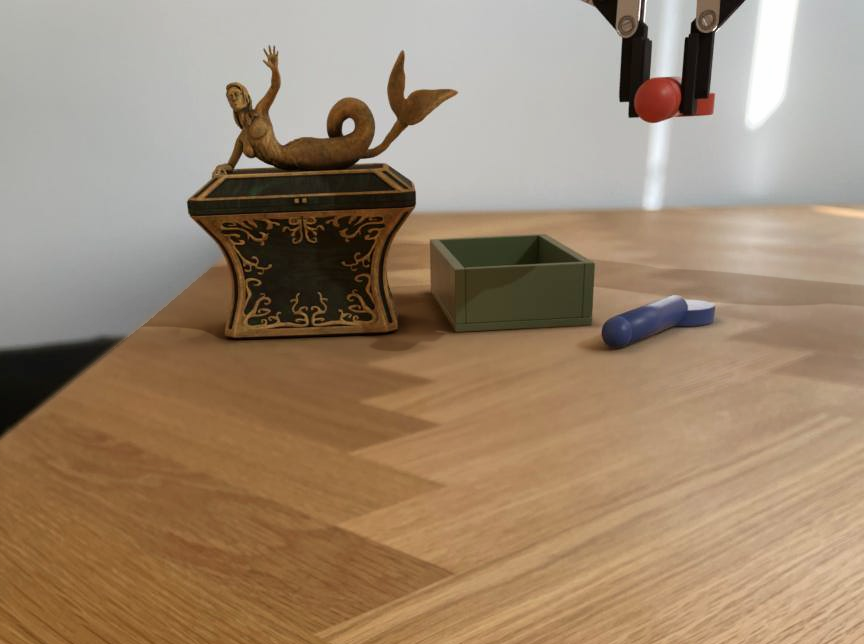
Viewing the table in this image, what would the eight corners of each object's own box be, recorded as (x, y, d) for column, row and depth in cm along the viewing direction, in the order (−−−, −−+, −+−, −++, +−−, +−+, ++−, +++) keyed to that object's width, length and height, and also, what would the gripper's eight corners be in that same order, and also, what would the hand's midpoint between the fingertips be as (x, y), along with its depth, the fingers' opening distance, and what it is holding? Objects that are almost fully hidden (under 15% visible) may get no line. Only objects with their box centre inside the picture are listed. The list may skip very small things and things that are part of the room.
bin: (544, 286, 97) (545, 233, 95) (591, 325, 81) (595, 262, 79) (430, 292, 97) (429, 239, 95) (455, 332, 80) (455, 269, 78)
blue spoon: (667, 313, 84) (670, 284, 83) (723, 318, 81) (726, 288, 80) (579, 348, 74) (581, 316, 73) (639, 355, 71) (642, 321, 70)
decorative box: (200, 344, 80) (166, 48, 71) (219, 319, 88) (190, 53, 79) (462, 334, 79) (461, 35, 70) (455, 310, 88) (453, 41, 79)
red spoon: (643, 115, 69) (645, 78, 68) (715, 113, 67) (719, 74, 66) (607, 125, 57) (610, 79, 56) (695, 122, 55) (699, 75, 54)
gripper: (864, -303, 52) (810, 108, 61) (548, -255, 58) (540, 118, 66) (871, -353, 46) (810, 112, 55) (516, -294, 51) (511, 123, 60)
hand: (662, 112), depth 60 cm, fingers closed on red spoon, 2 cm apart
